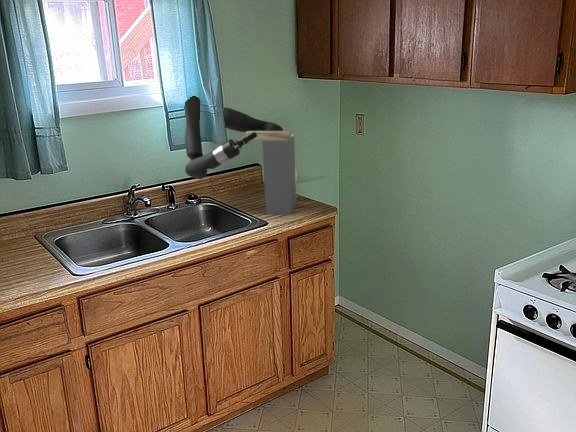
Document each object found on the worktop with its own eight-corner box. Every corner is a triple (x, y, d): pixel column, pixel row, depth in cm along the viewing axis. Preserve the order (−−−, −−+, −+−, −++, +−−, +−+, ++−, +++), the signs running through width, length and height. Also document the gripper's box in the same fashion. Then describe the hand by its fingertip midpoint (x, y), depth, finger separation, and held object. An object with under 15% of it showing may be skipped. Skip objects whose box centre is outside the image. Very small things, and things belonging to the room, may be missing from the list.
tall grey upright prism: (272, 204, 269) (269, 134, 259) (296, 205, 267) (293, 134, 257) (265, 214, 256) (262, 140, 246) (290, 214, 254) (288, 140, 244)
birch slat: (247, 137, 254) (247, 131, 253) (291, 137, 251) (291, 130, 250) (245, 139, 250) (245, 132, 249) (289, 139, 247) (289, 132, 246)
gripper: (216, 147, 248) (249, 127, 243) (226, 141, 262) (257, 122, 257) (226, 162, 250) (259, 143, 244) (235, 155, 263) (266, 136, 258)
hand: (257, 132), depth 250 cm, fingers open, 6 cm apart
